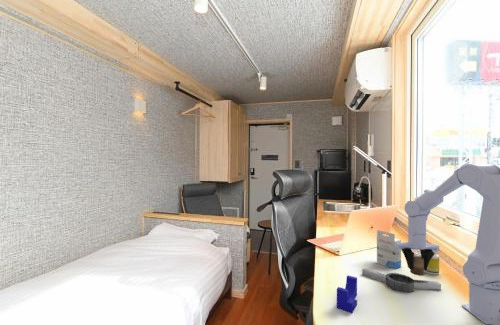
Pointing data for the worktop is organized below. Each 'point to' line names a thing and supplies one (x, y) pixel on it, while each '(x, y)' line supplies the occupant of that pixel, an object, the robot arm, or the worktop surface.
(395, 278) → the coupling collar
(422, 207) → the robot arm
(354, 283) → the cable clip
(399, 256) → the ink box
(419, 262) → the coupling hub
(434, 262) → the supplement bottle
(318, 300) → the worktop surface
